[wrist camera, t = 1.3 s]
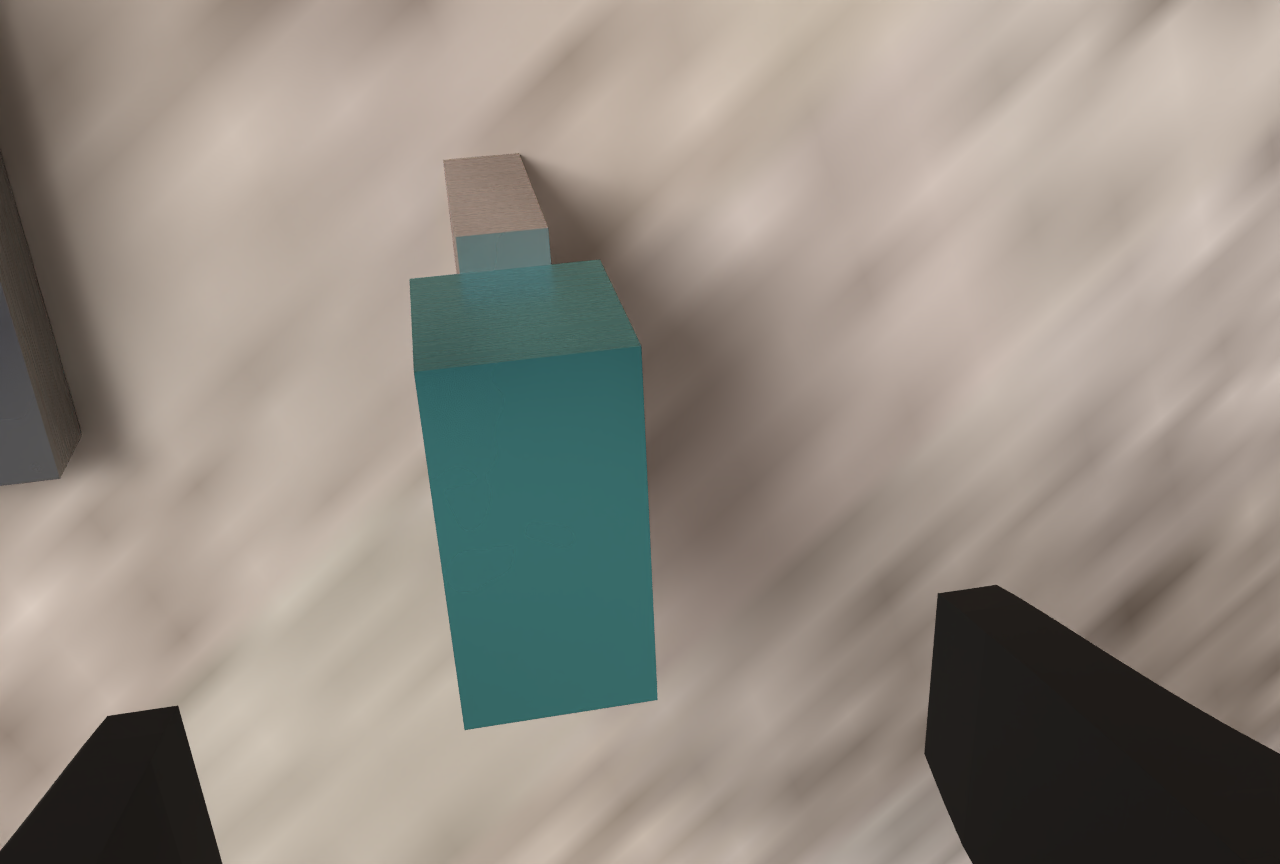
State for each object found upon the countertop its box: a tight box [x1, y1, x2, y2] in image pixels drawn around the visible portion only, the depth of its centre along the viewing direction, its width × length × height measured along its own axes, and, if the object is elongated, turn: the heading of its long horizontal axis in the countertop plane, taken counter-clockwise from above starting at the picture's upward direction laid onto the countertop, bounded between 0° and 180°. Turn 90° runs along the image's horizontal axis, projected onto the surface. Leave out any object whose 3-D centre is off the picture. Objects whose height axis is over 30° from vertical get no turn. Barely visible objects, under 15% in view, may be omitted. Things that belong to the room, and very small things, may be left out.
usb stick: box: [410, 153, 658, 730], centre depth 17 cm, size 6×2×7 cm, turn 2°
